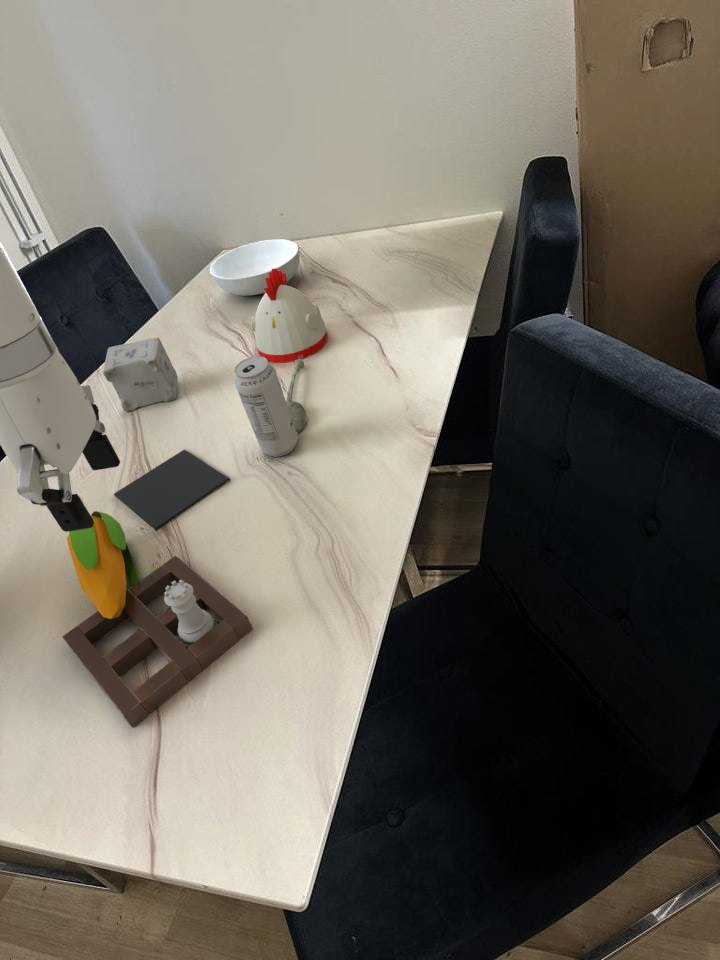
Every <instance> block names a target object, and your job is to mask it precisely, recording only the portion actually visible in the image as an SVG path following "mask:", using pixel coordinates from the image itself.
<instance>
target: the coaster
mask: <svg viewBox="0 0 720 960" xmlns="http://www.w3.org/2000/svg"><path fill="white" fill-rule="evenodd" d="M230 480H231V479H230V477H229V476H227V475H225V474H223V472H221V471H220V470H217V469H216V468H215V467H213V466H211V465H210V464H208V463H206V462H205V461H203V460H202V459H201V458H199V457H197V456H195V455H194V454H192V452H189V451H188V450H187V449H182V450H181V451H180V452H178V453H176V454H174V455H173V456H171V457H170V458H168V459H166V460H165V461H164V462H162V463H160V464H159V465H157V466H155V467H154V468H152V469H151V470H149V471H147V472H146V473H144V474H143V475H141V476H139V477H138V478H136V479H135V480H133V481H132V482H130V483H128V484H127V485H125V486H124V487H122V488H121V489H119V490H117V491H115V492H114V493H113V495H114V497H116V498H117V499H118V500H119V501H121V502H122V504H124V505H125V506H126V507H127V508H129V509H130V510H131V511H132V512H133V513H135V514H136V515H137V516H139V517H140V518H141V520H143V521H144V522H146V523H147V524H148V525H149V526H150V527H152V529H154V530H155V531H157V530H159V529H160V528H162V527H164V526H165V525H166V524H167V523H169V522H170V521H172V520H174V519H175V518H177V517H178V516H179V515H181V514H182V513H184V512H185V511H187V510H188V509H190V508H191V507H193V506H194V505H195V504H197V503H198V502H200V501H201V500H204V498H206V497H208V496H209V495H210V494H211V493H213V492H215V491H216V490H217V489H219V488H221V487H222V486H223V485H225V484H226V483H229V481H230Z"/></svg>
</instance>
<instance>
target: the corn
mask: <svg viewBox="0 0 720 960" xmlns="http://www.w3.org/2000/svg"><path fill="white" fill-rule="evenodd" d="M89 514H90V515H91V517H92V519H93V521H94V524H93V527H92V528H87V529H81V530H75V531H68V534H67V537H66V540H67V546H68V550H69V551H70V553H69V554H70V556H71V560H72V562H73V566H74V570H75V572H76V576H77V579H78V582H79V586H80V589H81V591H82V592H83V593H84V594H85V596H86V597H87V598H88V600H89V601H90V602H91V604H92V605H93V607H95V608H96V610H97V611H99V612H100V614H101V615H102V616H103V617H105V618H109V619H113V618H115V617H118V616H120V614H121V612H122V610H123V608H124V606H125V600H126V591H127V581H128V583H129V587H130V588H131V587H132V586H134V585H135V584H137V583H138V582H139V578H138V572H137V569H136V564H135V562H134V561H135V560H134V558H133V555H132V553H131V550H130V548H129V545H128V543H127V539H126V533H125V532H124V530H123V528H122V525H121V523H120V522H118V521H117V520H116V519H115V518H114V517H113V516H111V515H109V514H108V513H106V512H102V511H93V512H92V513H90V512H89ZM138 589H139V588H138Z"/></svg>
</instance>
